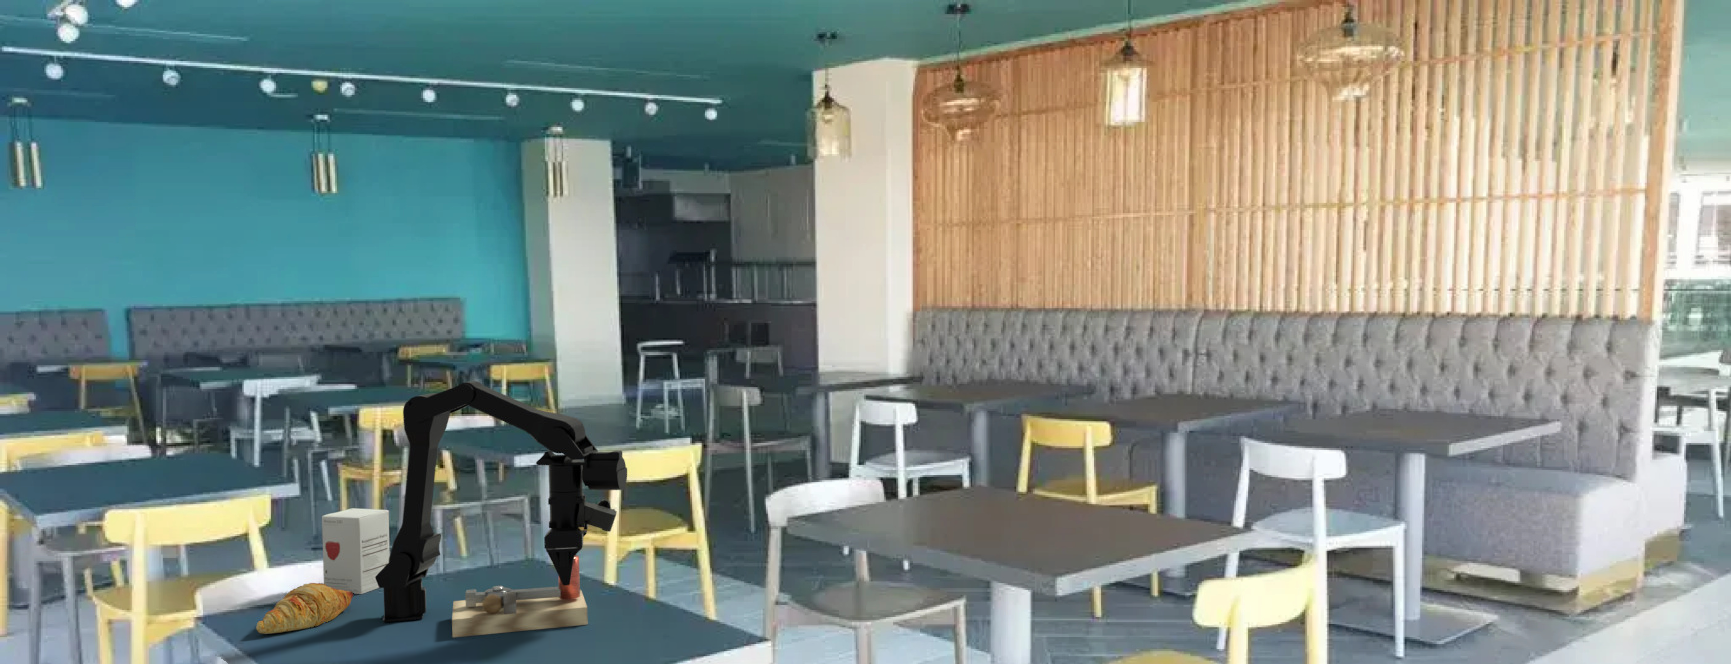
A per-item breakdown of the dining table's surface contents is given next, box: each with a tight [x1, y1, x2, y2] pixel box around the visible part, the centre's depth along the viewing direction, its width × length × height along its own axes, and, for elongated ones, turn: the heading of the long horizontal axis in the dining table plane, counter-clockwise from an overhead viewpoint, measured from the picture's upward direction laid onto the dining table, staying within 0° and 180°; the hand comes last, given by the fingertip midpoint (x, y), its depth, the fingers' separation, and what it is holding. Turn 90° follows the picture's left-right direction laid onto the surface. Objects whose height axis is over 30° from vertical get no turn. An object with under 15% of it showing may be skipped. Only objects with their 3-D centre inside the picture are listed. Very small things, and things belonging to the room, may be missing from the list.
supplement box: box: [321, 507, 390, 595], centre depth 240 cm, size 9×9×15 cm
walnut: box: [483, 594, 502, 614], centre depth 207 cm, size 3×3×3 cm
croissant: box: [256, 582, 354, 635], centre depth 215 cm, size 21×10×8 cm, turn 161°
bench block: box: [451, 589, 589, 638], centre depth 213 cm, size 22×13×6 cm, turn 108°
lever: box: [465, 554, 581, 607], centre depth 213 cm, size 19×4×7 cm, turn 103°
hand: (568, 578), depth 214 cm, fingers open, 9 cm apart
